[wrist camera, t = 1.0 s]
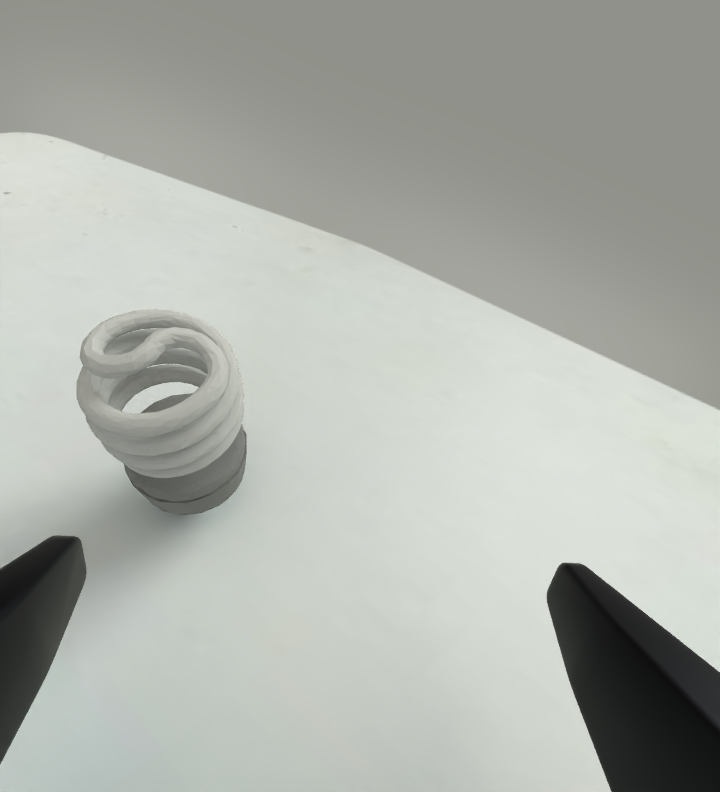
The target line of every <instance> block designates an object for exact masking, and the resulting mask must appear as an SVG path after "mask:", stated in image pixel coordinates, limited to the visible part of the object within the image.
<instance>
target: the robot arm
mask: <svg viewBox="0 0 720 792" xmlns="http://www.w3.org/2000/svg"><path fill="white" fill-rule="evenodd" d="M85 579H86V564H85V559H84V554H83V548H82V543H81V540H80V539H79V538H78V537H75V536H58V535H57V536H52V537H50V538H48V539H46V540H45V541H43V542H42V543H40V544H38V545H37V546H35V547H34V548H32V549H31V550H29V551H28V552H26V553H24V554H23V555H21V556H20V557H18V558H17V559H15V560H13V561H12V562H10V563H9V564H7V565H6V566H4V567H3V568H1V569H0V764H1V762H2V760H3V758H4V756H5V754H6V752H7V750H8V748H9V747H10V745H11V743H12V741H13V739H14V737H15V735H16V733H17V731H18V729H19V727H20V726H21V724H22V722H23V720H24V718H25V716H26V714H27V712H28V710H29V708H30V706H31V705H32V703H33V701H34V699H35V697H36V695H37V693H38V691H39V689H40V687H41V685H42V683H43V681H44V679H45V677H46V675H47V673H48V671H49V669H50V666H51V664H52V662H53V659H54V657H55V655H56V652H57V650H58V647H59V645H60V642H61V640H62V637H63V635H64V632H65V630H66V627H67V625H68V622H69V620H70V618H71V615H72V613H73V610H74V608H75V605H76V603H77V600H78V598H79V595H80V593H81V590H82V588H83V585H84V583H85ZM547 603H548V607H549V611H550V614H551V618H552V622H553V625H554V629H555V632H556V636H557V639H558V643H559V646H560V650H561V654H562V657H563V661H564V664H565V668H566V671H567V674H568V678H569V681H570V684H571V687H572V689H573V692H574V695H575V698H576V700H577V703H578V706H579V708H580V711H581V713H582V716H583V719H584V721H585V724H586V726H587V729H588V732H589V734H590V737H591V739H592V742H593V745H594V747H595V750H596V752H597V755H598V758H599V760H600V763H601V765H602V768H603V771H604V773H605V776H606V778H607V781H608V784H609V786H610V789H611V792H720V672H718V671H717V670H716V669H715V668H713V667H712V666H711V665H710V664H708V663H707V662H706V661H705V660H703V659H702V658H701V657H700V656H698V655H697V654H696V653H695V652H693V651H692V650H691V649H689V648H688V647H687V646H686V645H684V644H683V643H682V642H681V641H679V640H678V639H677V638H676V637H674V636H673V635H672V634H671V633H669V632H668V631H667V630H666V629H664V628H663V627H662V626H661V625H659V624H658V623H657V622H655V621H654V620H653V619H652V618H650V617H649V616H648V615H647V614H645V613H644V612H643V611H642V610H640V609H639V608H638V607H637V606H635V605H634V604H633V603H632V602H630V601H629V600H628V599H626V598H625V597H624V596H623V595H621V594H620V593H619V592H618V591H616V590H615V589H614V588H613V587H611V586H610V585H609V584H608V583H606V582H605V581H604V580H603V579H601V578H600V577H599V576H598V575H596V574H595V573H594V572H592V571H591V570H590V569H589V568H587V567H586V566H585V565H583V564H579V563H562V564H561V565H559V567H558V568H557V571H556V573H555V575H554V577H553V579H552V582H551V584H550V586H549V588H548V591H547Z"/></svg>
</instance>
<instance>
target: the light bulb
mask: <svg viewBox="0 0 720 792" xmlns="http://www.w3.org/2000/svg"><path fill="white" fill-rule="evenodd" d="M148 328H149V329H148ZM140 329H144V330H140ZM136 330H139V331H136ZM132 331H134V332H132ZM128 332H130V333H128ZM126 333H127V334H126ZM124 334H125V335H124ZM119 336H120V337H119ZM117 337H118V338H117ZM115 338H116V339H115ZM80 359H81V362H82V364H83V367H82V370H81V372H80V375H79V377H78V380H77V400H78V403H79V405H80V408H81V409H82V411H83V412H84V413H85V415H86V420H87V422H88V424H89V426H90V429H91V430H92V432H93V433H94V434H95V436H96V437H97V438H98V439H100V441H101V442H102V444H103V445H104V447H105V449H106V450H107V451H108V452H109V453H110V454H112V455H113V456H114V457H115V458H116V459H118V460H119V461H121V462H123V463H124V467H125V471H126V473H127V475H128V477H129V479H130V481H131V482H132V484H133V486H134V487H135V488H136V489H137V490H138V491H140V492H141V493H142V494H143V495H144V496H145V497H146V498H147V499H148V500H149V501H150V502H151V503H152V504H154V505H155V506H157V507H158V508H160V509H162V510H163V511H167V512H171V513H176V514H180V515H187V514H195V513H202V512H204V511H207V510H209V509H212V508H214V507H216V506H219V505H220V504H222V503H223V502H224V501H226V500H227V499H228V498H229V497H230V496H231V495H232V494H233V493H234V492H235V490H236V489H237V487H238V486H239V484H240V482H241V481H242V477H243V474H244V470H245V462H246V433H245V431H244V430H243V426H242V421H243V415H244V402H243V400H244V386H243V380H242V377H241V373H240V370H239V365H238V360H237V358H236V356H235V353H234V351H233V349H232V347H231V345H230V344H229V343H228V342H227V340H226V339H225V338H224V337H223V336H222V335H221V334H220V333H219V332H218V331H217V330H216V329H215V328H213V327H212V326H210V325H209V324H207V323H205V322H204V321H202V320H200V319H197V318H195V317H192V316H190V315H187V314H184V313H179V312H174V311H170V310H157V309H154V310H141V311H133V312H129V313H125V314H122V315H118V316H115V317H112V318H110V319H108V320H106V321H104V322H102V323H100V324H99V325H98V326H97V327H96V328H94V329H93V330H92V331H91V332H90V333H89V335H88V336H87V337H86V338H85V339H84V340H83V342H82V346H81V351H80ZM158 364H166V365H158ZM176 364H182V365H176ZM152 365H158V366H153V367H149V366H152ZM147 367H149V368H147ZM145 368H146V369H145ZM124 378H125V379H124ZM168 382H183V383H189V384H193V385H195V386H198V387H199V388H198V389H197V390H196V391H195V392H194V393H192V394H183V395H173V396H170V397H167V398H165V399H162V400H160V401H157V402H155V403H153V404H152V405H150V406H149V407H148V408H146V409H145V410H144V411H143V412H141V413H139V414H130V413H125V412H122V409H123V408H124V406H125V405H126V403H127V402H128V401H129V400H130V399H131V398H132V397H133V396H134V395H136V394H137V393H139V392H141V391H142V390H144V389H146V388H148V387H151V386H154V385H158V384H161V383H168Z"/></svg>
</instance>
